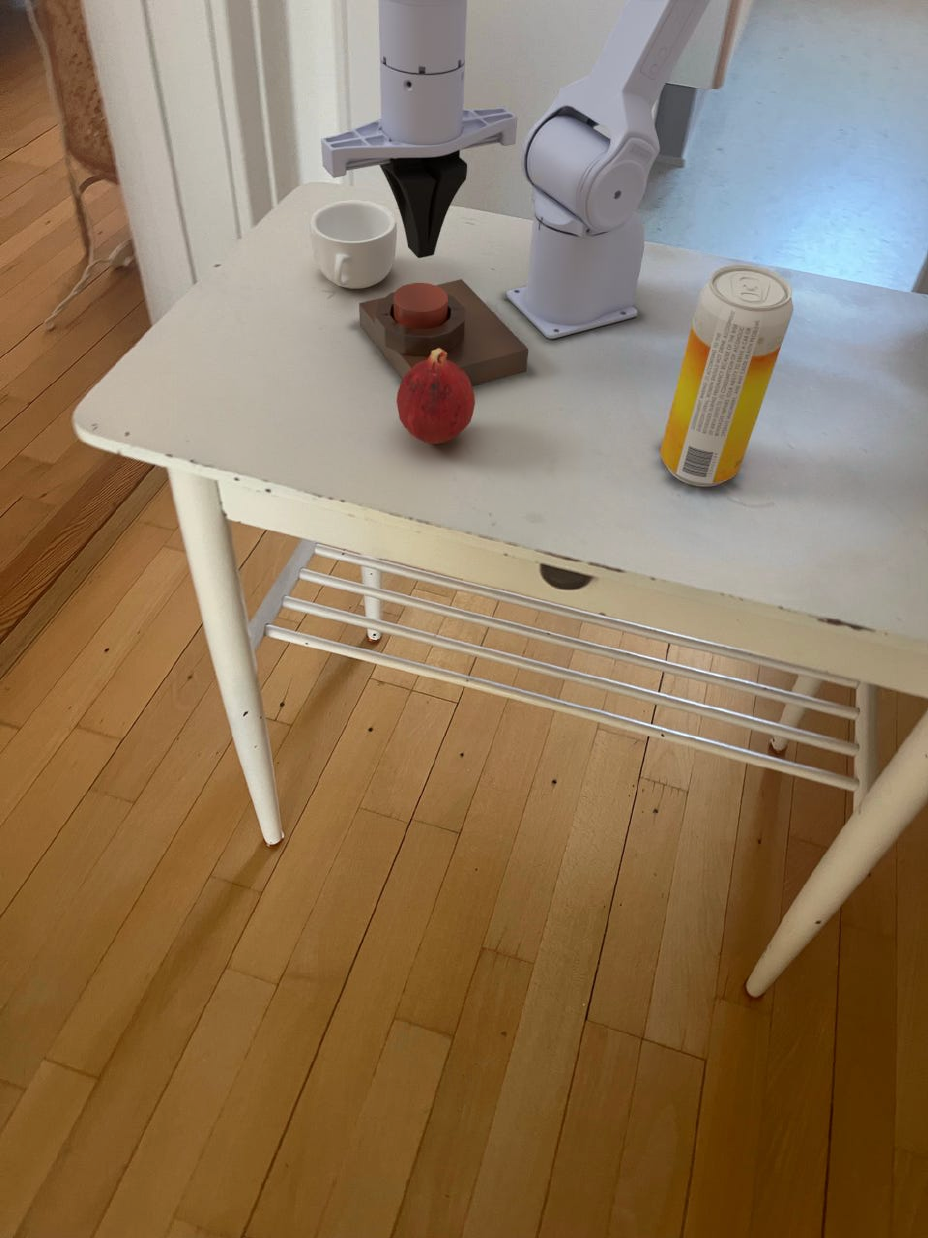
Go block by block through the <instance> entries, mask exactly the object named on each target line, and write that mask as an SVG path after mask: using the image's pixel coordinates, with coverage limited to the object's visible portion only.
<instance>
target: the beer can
mask: <svg viewBox="0 0 928 1238" xmlns="http://www.w3.org/2000/svg"><path fill="white" fill-rule="evenodd" d="M792 296H793V288H792V285H791V284H790V282H788V280H786V279H785V278H784V277H783V276H782V275H780V274H778V273H777V272H774V271H772V270H770V269H767V268H765V267H760V266H757V265H751V264H731V265H726V266H722V267H719V268H718V269H716V270H715V271H713V273H712V274H711V276H710V278H709V280H708V281H707V282H706V283H705V284H704V285H703V287H702V288H701V289H700V292H699V295H698V300H697V303H696V308H695V312H694V316H693V320H692V323H691V327H690V331H689V335H688V339H687V344H686V347H685V351H684V354H683V359H682V362H681V367H680V371H679V375H678V379H677V383H676V387H675V391H674V395H673V399H672V403H671V407H670V411H669V416H668V419H667V422H666V427H665V431H664V435H663V439H662V442H661V447H660V457H661V459H662V461H663V463H664V465H665V467H666V468H667V470H668V471H669V473H670V474H671V475H672V476H673V477H675V478H676V479H677V480H679V481H681V482H682V483H685V484H687V485H689V486H695V487H703V488H704V487H705V488H707V487H708V488H709V487H715V486H718V485H720V484H723V483H725V482H726V481H729V480H730V479H732V478H733V477H735V476H736V475H737V474H738V473H739V471H740V469H741V467H742V463H743V460H744V457H745V455H746V452H747V449H748V446H749V444H750V440H751V437H752V434H753V431H754V429H755V426H756V423H757V419H758V416H759V414H760V411H761V407H762V405H763V402H764V399H765V396H766V392H767V390H768V388H769V384H770V381H771V378H772V375H773V372H774V369H775V366H776V363H777V361H778V357H779V355H780V351H781V349H782V345H783V342H784V340H785V337H786V333H787V330H788V328H789V325H790V321H791V319H792V316H793V312H794V304H793V303H794V302H793V297H792Z"/></svg>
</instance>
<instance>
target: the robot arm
mask: <svg viewBox="0 0 928 1238" xmlns="http://www.w3.org/2000/svg"><path fill="white" fill-rule="evenodd" d="M710 2H711V0H627V1H626V3H625V4H624V7H623V8H622V10H621V13H620V15H619V17H618V19H617V21H616V23H615V25H614V26H613V28H612V30H611V32H610V34H609V36H608V38H607V40H606V42H605V44H604V46H603V49H602V50H601V52H600V54H599V56H598V58H597V61H596V62H595V64H594V66H593V68H592V70H591V71H590V73H589V74H588V75H585V76H584V77H582V78H580V79H578V80H576V81H573V82H571V83H569V84H567V85H565V86H563V87H561V88H560V89H559V90H558V92H557V94H556V96H555V98H554V100H553V102H552V104H551V105H550V107H549V108H548V110H546V112H545V113H544V114H543V115H542V116H541V117H540V118H539V119H538V120H537V121H536V122H535V124H533V125H532V127H531V128H530V130H529V132H528V133H527V135H526V137H525V139H524V141H523V146H522V148H521V151H520V152H521V153H520V168H521V172H522V175H523V177H524V178H525V180H526V181H527V182H528V184H530V185H531V186H532V188H531V198H530V199H531V201H532V202H533V203H534V208H533V216H532V217H533V219H532V230H531V237H530V247H529V257H528V268H527V276H526V285H524V286H521V287H518V288H513V289H510V290H507V291H506V298H507V299H508V300H509V301H510V302H511V303H512V304H513V305H514V306H515V307H516V308H517V309H518V310H519V311H520V312H521V313H522V314H523V315H524V316H525V317H526V318H527V319H528V320H529V321H530V322H531V323H532V324H533V325H534V326H535V327H536V328H537V330H539V331H540V332H541V333H542V334H543V335H544V336H545V337H546V338H547V339H548V340H554V339H558V338H561V337H566V336H569V335H572V334H577V333H580V332H584V331H587V330H592V329H596V328H599V327H602V326H606V325H610V324H614V323H617V322H621V321H625V320H629V319H633V318H636V317H637V316H638V312H639V311H638V310H637V308H635V306H634V304H635V297H636V292H637V288H638V283H639V277H640V272H641V267H642V262H643V257H644V251H645V241H646V240H645V230H644V225H643V221H642V218H641V217H640V215H639V212H638V211H637V209H638V207H639V206H640V204H641V202H642V200H643V197H644V195H645V191H646V187H647V183H648V178H649V175H650V171H651V169H652V167H653V165H654V162H655V160H656V158H657V157H658V156H659V153H660V151H661V146H660V141H659V137H658V135H657V130H656V126H655V123H654V122H655V121H654V118H653V114H652V109H653V108H654V106H655V104H656V102H657V100H658V98H659V96H660V95H661V93H662V91H663V89H664V88H665V86H666V83H667V82H668V80H669V78H670V76H671V74H672V73H673V71H674V69H675V67H676V65H677V64H678V62H679V59H680V58H681V56H682V54H683V52H684V51H685V49H686V47H687V45H688V43H689V42H690V39H691V37H692V36H693V33H694V32H695V30H696V28H697V26H698V24H699V22H700V21H701V19H702V18H703V15H704V14H705V12H706V10H707V8H708V6H709V4H710ZM467 12H468V0H378V40H379V43H378V44H379V45H378V46H379V83H380V87H379V88H380V89H379V90H380V118H379V119H376V120H373V121H371V122H368V123H365V124H363V125H361V126H358V127H354V128H352V129H350V130H347V131H345V132H341V133H339V134H336V135H331V136H326V137H322V138H320V144H321V147H320V149H321V160H322V167H323V168H324V169H325V171H326V172H327V173H328V174H329V175H330V176H331V177H332V178H334V179H335V178H341V177H346V175H347V172H348V171H353V170H359V169H364V168H370V167H375V166H379V167H380V169H381V171H382V173H383V175H384V177H385V179H386V181H387V183H388V186H389V187H390V190H391V193H392V195H393V197H394V199H395V202H396V205H397V208H398V210H399V214H400V217H401V222H402V225H403V229H404V232H405V238H406V244H407V249H409V250H410V251H411V252H412V253H413V254H414V256H415V257H416V258H418V259H423V258H427V257H432V256H434V255H435V252H436V248H437V244H438V240H439V237H440V233H441V231H442V226H443V224H444V222H445V219H446V216H447V214H448V211H449V209H450V207H451V204H452V202H453V200H454V199H455V197H456V195H457V194H458V192H459V190H460V188H461V187H462V186H463V185H464V183H465V181H466V180H467V176H468V163H467V162H466V161H465V160H464V158H462V157H460V156H461V151H462V150H468V149H472V148H478V147H483V146H488V145H494V144H500V146H503V147H508V146H513V145H516V142H517V130H518V120H519V119H518V116H516V115H515V114H514V113H513V112H511V111H510V110H509V109H507V108H506V107H505V106H504V107H496V108H484V109H483V108H482V109H480V108H479V109H464V97H465V73H466V71H465V70H466V42H467V41H466V39H467V15H468V13H467ZM597 126H601V127H602V128H604V129H605V130H606V131H607V132H608V135H609V137H608V136H606V135H604V134H603V132H602V133H601V132H600V131H598V130H597V129H596V127H597Z"/></svg>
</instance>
